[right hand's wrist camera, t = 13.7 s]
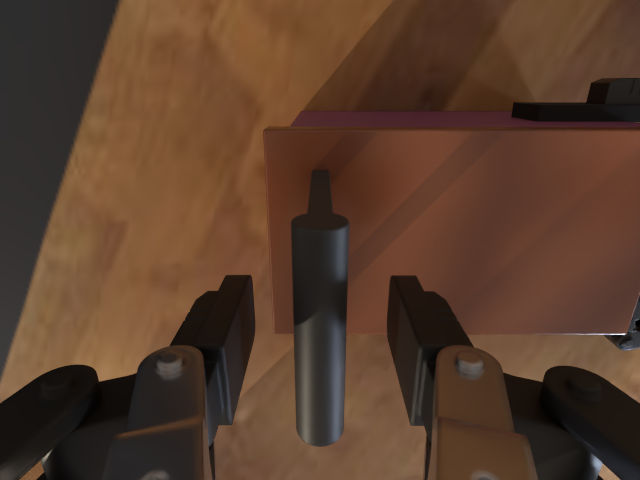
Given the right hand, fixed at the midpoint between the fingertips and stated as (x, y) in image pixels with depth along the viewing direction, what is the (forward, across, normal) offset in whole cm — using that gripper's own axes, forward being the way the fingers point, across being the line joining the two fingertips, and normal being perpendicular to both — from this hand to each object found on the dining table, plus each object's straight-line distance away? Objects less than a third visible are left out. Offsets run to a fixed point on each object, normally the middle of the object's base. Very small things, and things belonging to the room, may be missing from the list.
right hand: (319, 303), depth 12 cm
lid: (+6, -6, 0) cm, 9 cm away
